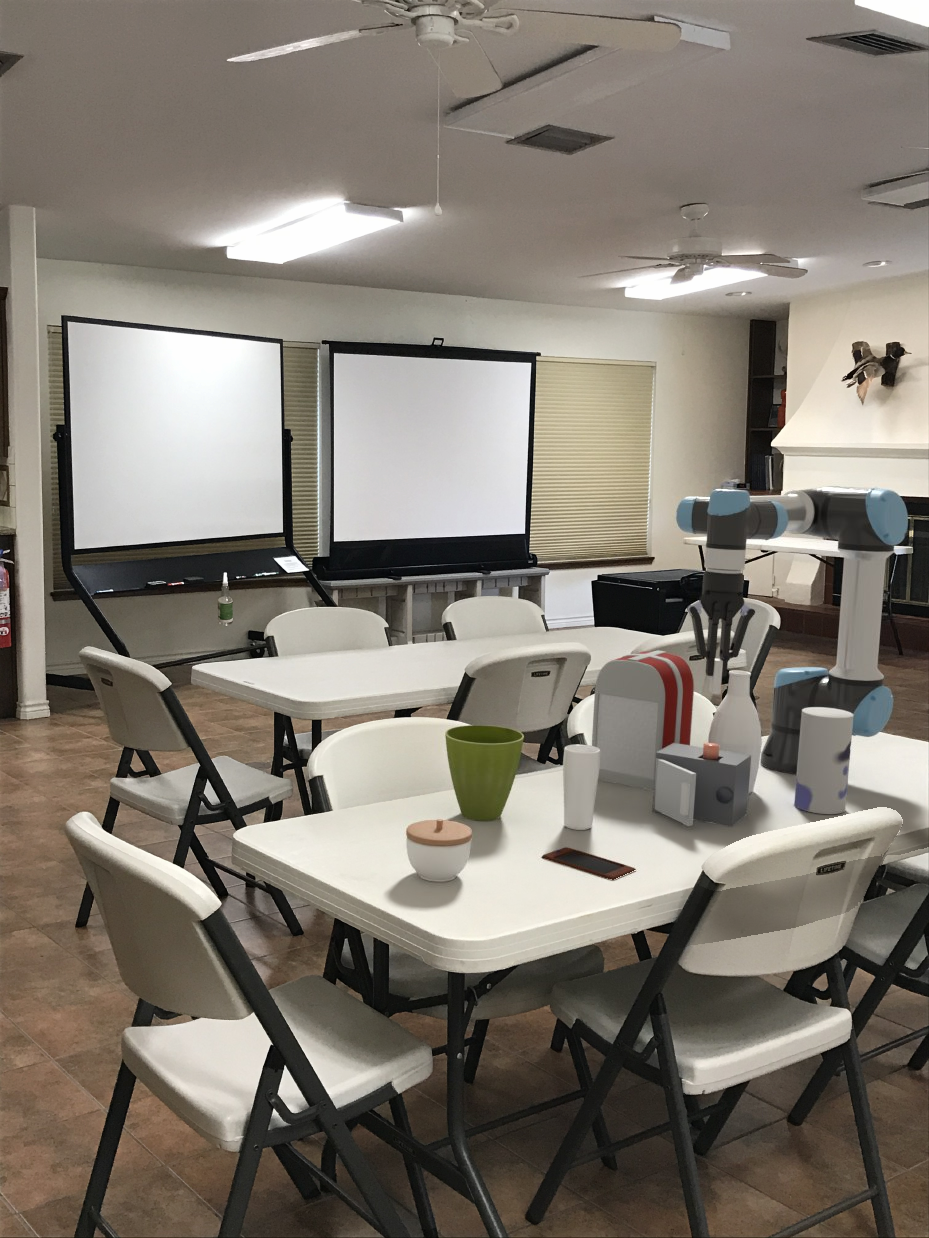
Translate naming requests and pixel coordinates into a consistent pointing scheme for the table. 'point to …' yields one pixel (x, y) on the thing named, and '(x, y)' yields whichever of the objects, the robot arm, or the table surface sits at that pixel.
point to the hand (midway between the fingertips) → (714, 692)
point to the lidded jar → (438, 848)
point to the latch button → (710, 751)
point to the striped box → (640, 714)
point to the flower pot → (483, 768)
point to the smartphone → (588, 863)
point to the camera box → (714, 782)
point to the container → (823, 760)
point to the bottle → (738, 723)
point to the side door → (674, 791)
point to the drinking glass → (580, 785)
